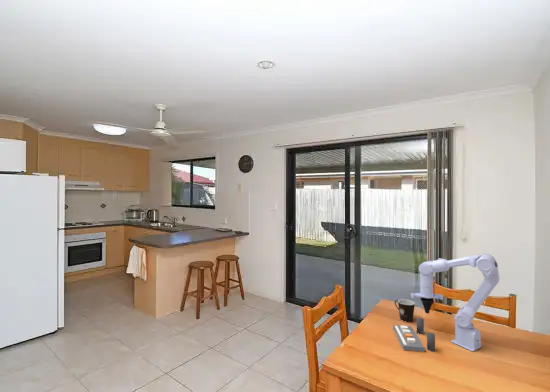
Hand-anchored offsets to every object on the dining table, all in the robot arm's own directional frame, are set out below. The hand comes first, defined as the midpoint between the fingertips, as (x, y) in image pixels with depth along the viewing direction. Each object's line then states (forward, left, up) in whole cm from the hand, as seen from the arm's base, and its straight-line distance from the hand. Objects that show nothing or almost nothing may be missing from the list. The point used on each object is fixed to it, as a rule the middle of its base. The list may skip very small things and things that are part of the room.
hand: (426, 312), depth 141 cm
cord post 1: (+2, +3, -10) cm, 11 cm away
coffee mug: (+16, -5, -11) cm, 20 cm away
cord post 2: (-10, +13, -10) cm, 19 cm away
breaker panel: (+1, +14, -10) cm, 18 cm away
